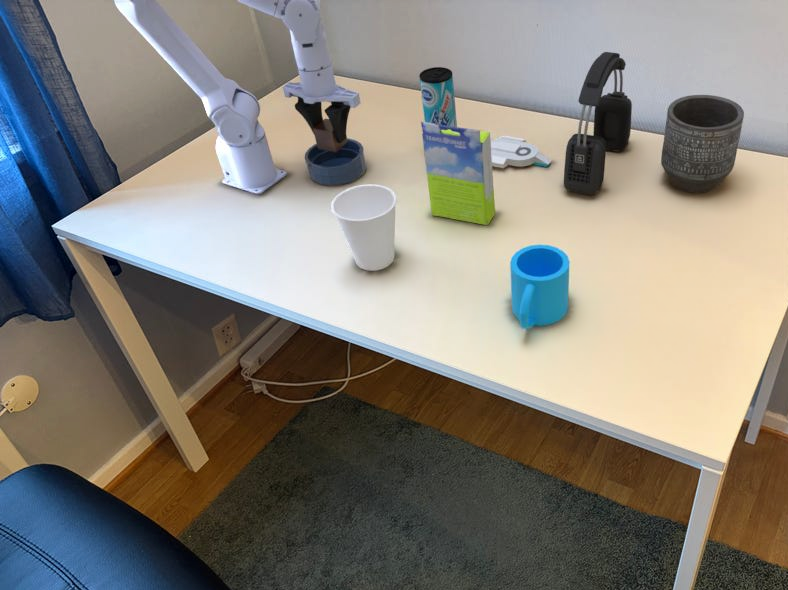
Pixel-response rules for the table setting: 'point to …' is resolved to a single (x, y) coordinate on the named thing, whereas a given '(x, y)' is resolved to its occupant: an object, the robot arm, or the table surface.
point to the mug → (539, 285)
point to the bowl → (336, 164)
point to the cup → (368, 224)
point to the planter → (701, 141)
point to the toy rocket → (515, 153)
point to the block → (327, 137)
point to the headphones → (598, 127)
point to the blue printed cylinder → (438, 96)
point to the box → (459, 172)
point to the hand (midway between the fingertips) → (331, 138)
